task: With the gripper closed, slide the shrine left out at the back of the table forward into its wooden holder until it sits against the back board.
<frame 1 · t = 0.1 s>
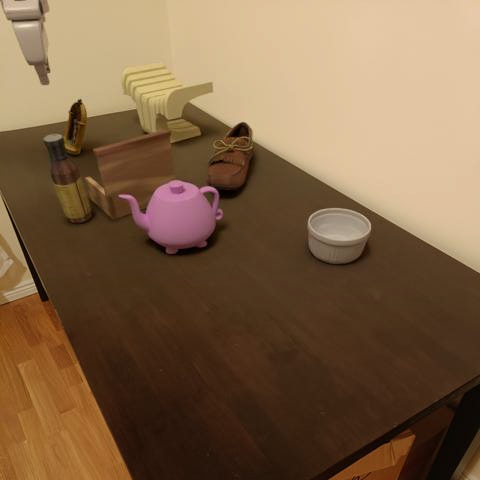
hand: (46, 78, 96), 28 cm above the table, tool pointing down, fingers open, 8 cm apart
shrine: (77, 152, 134), on the table
wooden holder: (133, 197, 113), on the table
slatted curved stool: (170, 134, 144), on the table
teapot: (178, 240, 98), on the table
moccasin: (232, 176, 122), on the table
ramekin: (334, 251, 95), on the table
sauce bottle: (79, 219, 105), on the table
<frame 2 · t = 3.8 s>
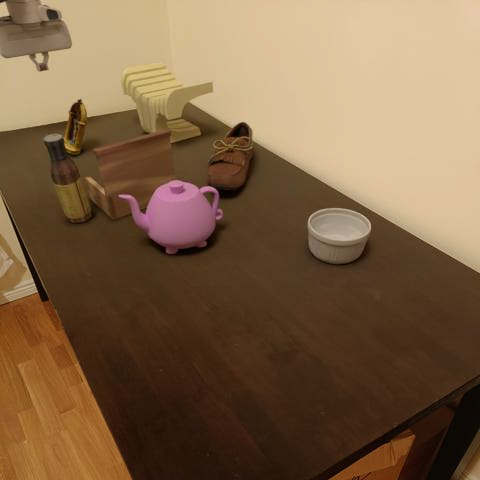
hand: (43, 70, 126), 21 cm above the table, tool pointing down, fingers closed
nothing on the table moved.
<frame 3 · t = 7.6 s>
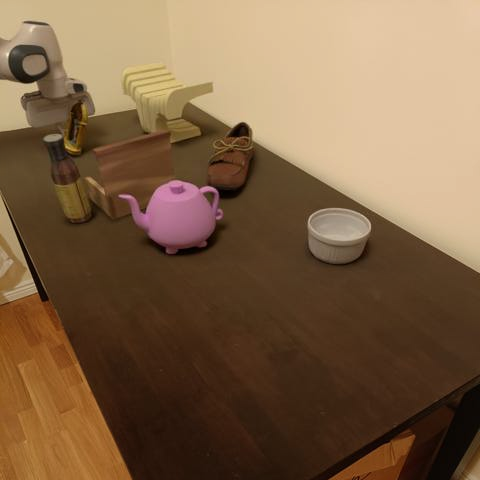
hand: (67, 135, 134), 4 cm above the table, tool pointing down, fingers closed
shrine: (77, 152, 134), on the table, touching gripper
everything else where it was.
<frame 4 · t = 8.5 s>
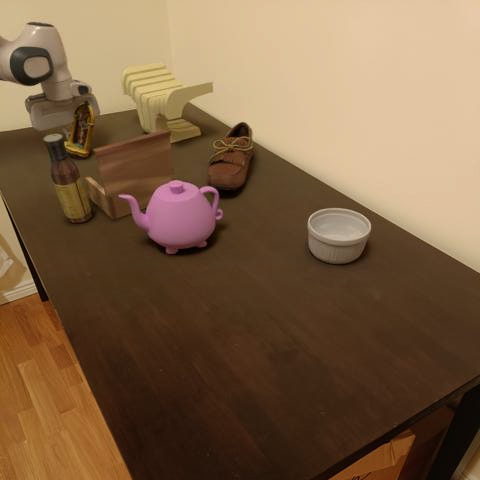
hand: (72, 138, 132), 4 cm above the table, tool pointing down, fingers closed, pressing on shrine
shrine: (84, 155, 133), on the table, touching gripper
everything else where it was.
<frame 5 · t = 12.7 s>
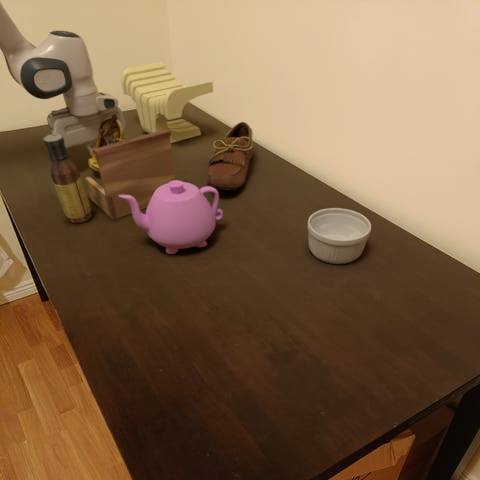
hand: (96, 155, 123), 4 cm above the table, tool pointing down, fingers closed, pressing on shrine
shrine: (109, 172, 124), on the table, touching gripper
everything else where it was.
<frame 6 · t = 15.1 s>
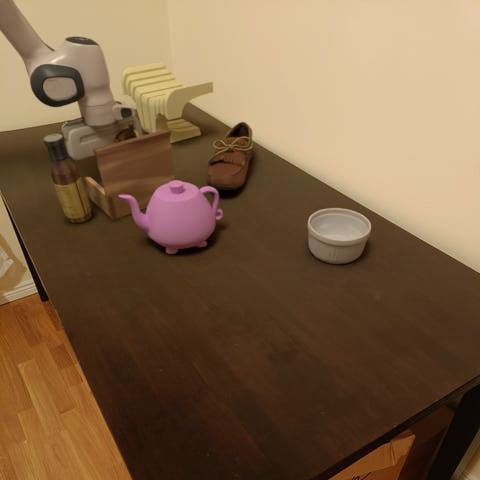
hand: (111, 166, 117), 4 cm above the table, tool pointing down, fingers closed, pressing on shrine
shrine: (124, 183, 118), on the table, touching gripper
everything else where it was.
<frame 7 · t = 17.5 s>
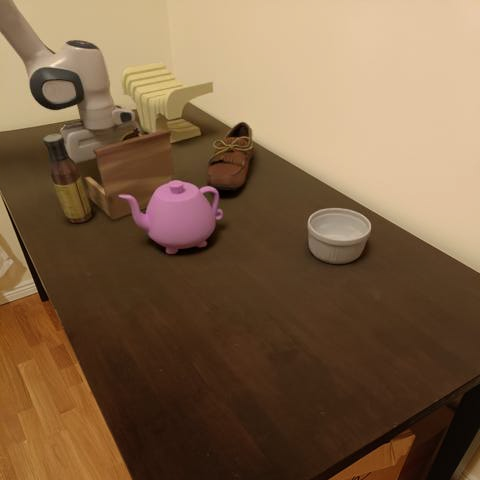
hand: (110, 169, 117), 3 cm above the table, tool pointing down, fingers closed
shrine: (132, 190, 116), on the table
everything else where it was.
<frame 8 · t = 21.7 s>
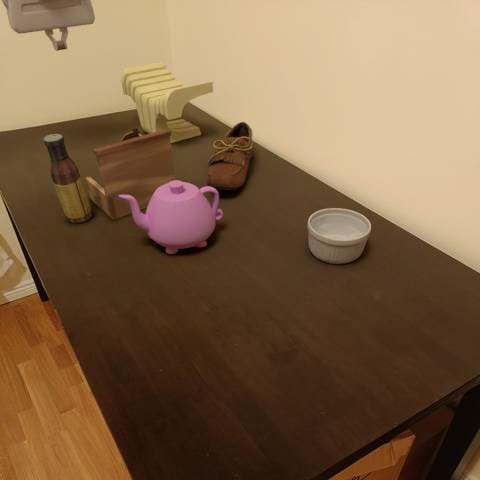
hand: (61, 49, 109), 29 cm above the table, tool pointing down, fingers closed
nothing on the table moved.
at the end: shrine inside the target area on the wooden holder (4.6 cm from its centre), point 0.0 cm above the wooden holder's base; shrine tilted 0°; shrine moved 33.5 cm from its start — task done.
